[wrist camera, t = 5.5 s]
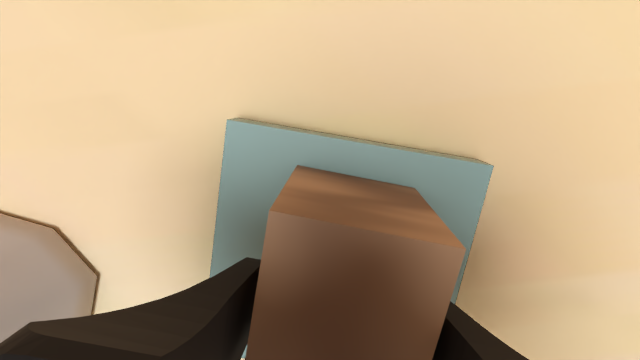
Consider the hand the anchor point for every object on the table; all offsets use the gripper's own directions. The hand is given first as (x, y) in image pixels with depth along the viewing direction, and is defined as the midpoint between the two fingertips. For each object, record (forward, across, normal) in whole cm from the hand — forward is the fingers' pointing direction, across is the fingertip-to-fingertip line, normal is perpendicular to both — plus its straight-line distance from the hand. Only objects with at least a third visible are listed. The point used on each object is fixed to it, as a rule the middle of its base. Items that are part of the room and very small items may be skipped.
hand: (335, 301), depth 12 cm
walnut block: (+3, 0, -2) cm, 3 cm away
